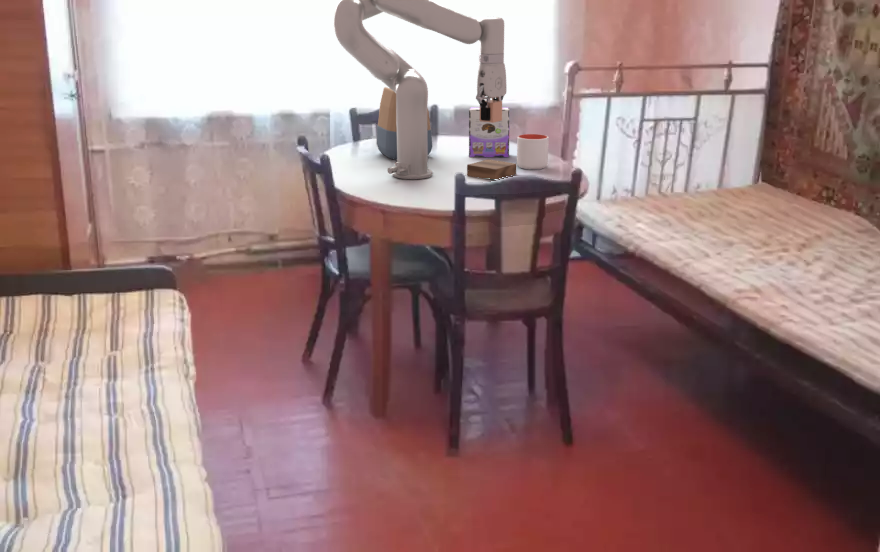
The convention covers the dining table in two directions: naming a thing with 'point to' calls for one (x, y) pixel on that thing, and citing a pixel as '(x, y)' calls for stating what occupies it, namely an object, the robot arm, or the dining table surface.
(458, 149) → the dining table surface
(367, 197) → the dining table surface
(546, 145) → the cup
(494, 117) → the brick
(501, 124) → the candy box
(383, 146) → the tan two-tone rounded container
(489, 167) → the plinth
